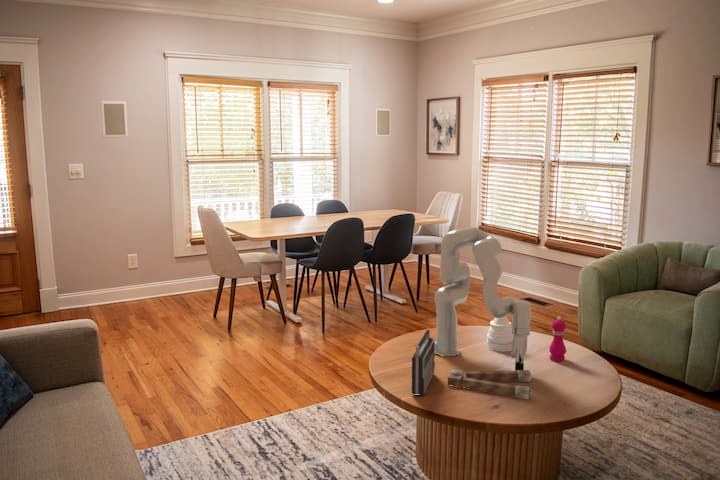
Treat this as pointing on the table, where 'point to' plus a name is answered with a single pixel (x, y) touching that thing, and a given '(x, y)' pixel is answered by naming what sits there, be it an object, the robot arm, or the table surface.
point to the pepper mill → (558, 341)
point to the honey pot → (500, 335)
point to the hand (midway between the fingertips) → (519, 371)
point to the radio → (423, 364)
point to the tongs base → (488, 385)
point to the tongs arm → (500, 375)
